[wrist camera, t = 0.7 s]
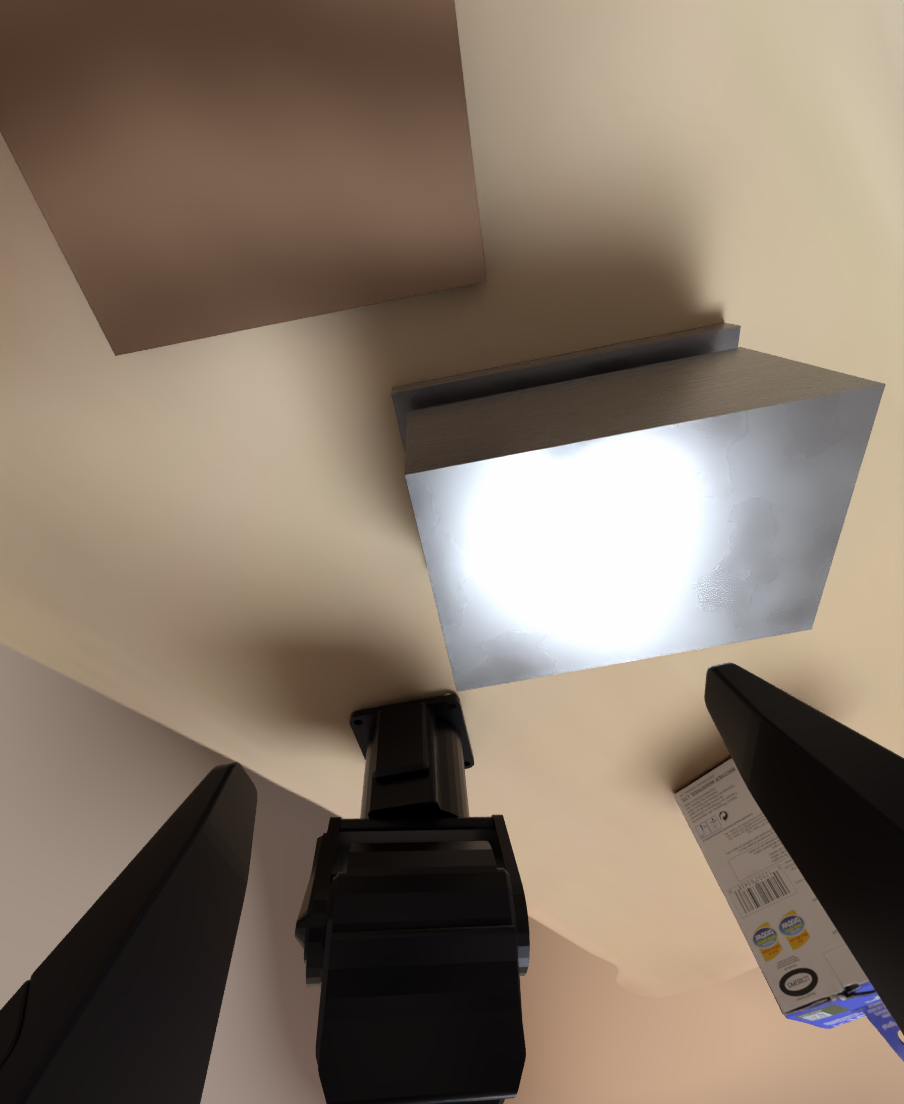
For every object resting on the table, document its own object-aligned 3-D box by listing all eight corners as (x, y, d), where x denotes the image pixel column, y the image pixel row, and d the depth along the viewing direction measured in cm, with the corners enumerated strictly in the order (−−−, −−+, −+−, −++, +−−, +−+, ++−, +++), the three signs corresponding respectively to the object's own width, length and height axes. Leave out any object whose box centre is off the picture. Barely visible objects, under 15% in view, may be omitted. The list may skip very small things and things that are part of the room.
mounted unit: (700, 527, 23) (822, 639, 16) (436, 576, 23) (445, 705, 16) (725, 322, 18) (913, 359, 11) (392, 387, 19) (380, 460, 12)
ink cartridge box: (711, 816, 37) (862, 1095, 24) (667, 794, 35) (808, 1086, 22) (827, 747, 33) (1073, 1034, 21) (786, 718, 31) (1032, 1017, 19)
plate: (482, 280, 17) (486, 281, 16) (130, 351, 17) (115, 355, 16) (400, -416, 10) (398, -478, 9) (-180, -273, 10) (-232, -322, 10)
